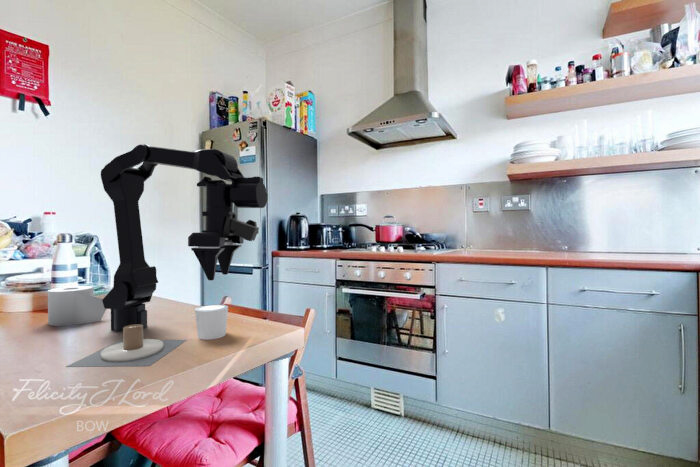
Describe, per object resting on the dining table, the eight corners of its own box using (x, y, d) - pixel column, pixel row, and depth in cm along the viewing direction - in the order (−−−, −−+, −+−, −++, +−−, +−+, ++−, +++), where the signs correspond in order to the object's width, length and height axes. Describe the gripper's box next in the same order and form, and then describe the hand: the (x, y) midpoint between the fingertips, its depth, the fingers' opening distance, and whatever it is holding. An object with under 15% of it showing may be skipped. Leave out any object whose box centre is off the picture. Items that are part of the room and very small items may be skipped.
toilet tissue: (107, 320, 90) (107, 288, 90) (42, 327, 84) (42, 292, 84) (112, 313, 98) (112, 283, 98) (53, 319, 92) (53, 287, 92)
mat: (66, 371, 58) (66, 366, 57) (120, 343, 72) (120, 340, 72) (149, 370, 58) (149, 365, 58) (187, 343, 72) (187, 339, 72)
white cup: (233, 334, 78) (233, 304, 78) (219, 344, 71) (219, 311, 71) (205, 333, 79) (205, 303, 79) (188, 343, 72) (188, 310, 72)
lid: (87, 362, 60) (86, 334, 59) (123, 343, 70) (123, 319, 69) (144, 361, 60) (144, 334, 60) (173, 342, 70) (172, 319, 70)
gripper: (244, 205, 67) (243, 284, 67) (264, 210, 86) (263, 272, 86) (187, 204, 67) (186, 283, 67) (219, 209, 85) (218, 271, 85)
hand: (218, 277), depth 76 cm, fingers open, 9 cm apart
